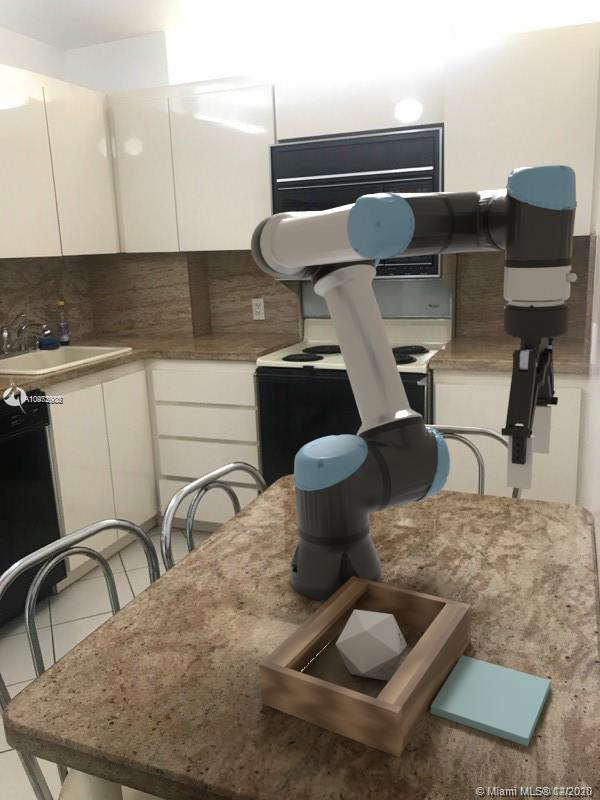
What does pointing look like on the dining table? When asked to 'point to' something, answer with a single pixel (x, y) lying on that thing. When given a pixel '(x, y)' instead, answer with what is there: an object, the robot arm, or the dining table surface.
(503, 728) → the pad
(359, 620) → the die
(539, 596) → the dining table surface
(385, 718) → the wooden tray
